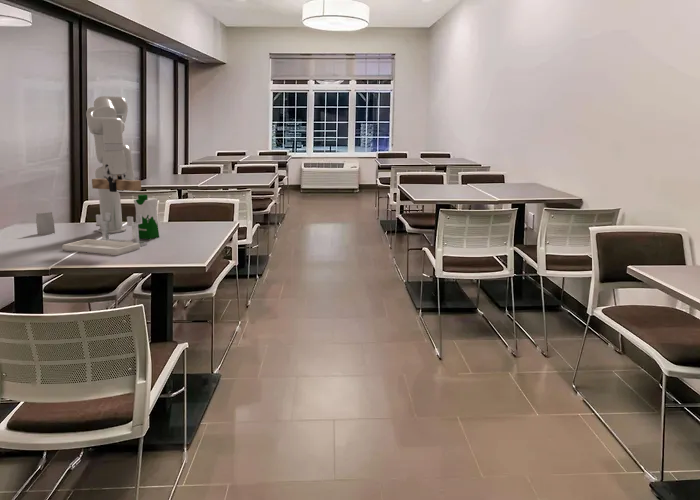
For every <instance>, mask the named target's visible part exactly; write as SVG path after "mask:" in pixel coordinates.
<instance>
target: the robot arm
mask: <svg viewBox="0 0 700 500" xmlns="http://www.w3.org/2000/svg"><path fill="white" fill-rule="evenodd" d="M128 107H129V106H128V103H127V101H126V99H125V98H124V97H122V96H109V95H108V96H106V95H104V96H103V95H102V96H98V97H96V98H95V99H94V100H93V106H92V107H88V108H87V110H86V113H85V115H86V121H87V126H88V130H89V132H90V133H91V134H92V135H93V139H94V146H95V155H96V156H95V157H96V160H97V162H98V163H99V164H101V166H99V167H97V168H96V170H95V171H94V173H95V179H97V178H103V179H107V180H108V182H109V189H97V190H98V198H99V199H98V201H99V212H100V214H99V215H102V220H106V217H105V213H111V217H112V222H107V223H108V234H114V233H115V234H116V233H121V232H122V233H123V232H126V231H127V228H126V227H124V226H123V218H122V217H123V216H122V203H121V193H120V192H119V191H121V192H123V191H124V192H125V190H117V189H116V182H115V179H123V180H135V172H134V170H135V169H134V163H133V162H134V161H133V155H132V150H131V148H130V146H129V145H128V144H124V142H123V141H124V139H123V133H124V132H125V124H126V121H127V116H128V112H129V111H128V110H129V109H128ZM95 226H96V227H99V229H98V230H97V231H98V232H99V233H100V234H102V227H101V224H97V222H96V223H95Z"/></svg>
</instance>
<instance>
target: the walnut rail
mask: <svg viewBox="0 0 700 500" xmlns="http://www.w3.org/2000/svg"><path fill="white" fill-rule="evenodd" d="M115 182H116V189H117V191H118V190H124V191H129V192H130V191H131V192H136V191H142V180H141V179H140V180H139V179H134V180H123V179H115ZM91 186H92V187H91V188H92V189H96V190H98V189H109V182H108V180H107V179H103V178H97V179H96V178H91Z"/></svg>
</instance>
